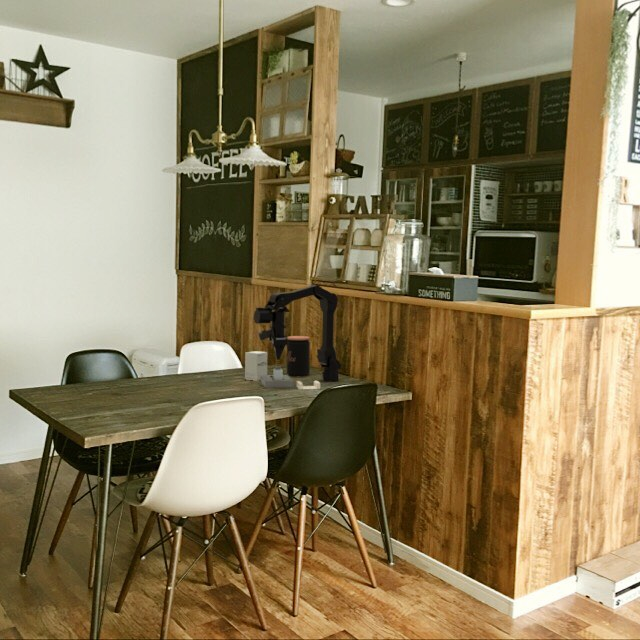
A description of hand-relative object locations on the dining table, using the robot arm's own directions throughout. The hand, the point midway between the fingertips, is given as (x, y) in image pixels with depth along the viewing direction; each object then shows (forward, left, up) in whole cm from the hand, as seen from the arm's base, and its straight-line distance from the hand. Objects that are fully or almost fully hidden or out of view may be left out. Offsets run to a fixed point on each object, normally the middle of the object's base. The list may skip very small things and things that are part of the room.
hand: (277, 359), depth 311 cm
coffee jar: (-14, -32, -12) cm, 37 cm away
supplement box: (+7, -21, -12) cm, 26 cm away
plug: (0, 0, -11) cm, 11 cm away
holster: (-12, +7, -12) cm, 18 cm away
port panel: (0, -3, -12) cm, 12 cm away
